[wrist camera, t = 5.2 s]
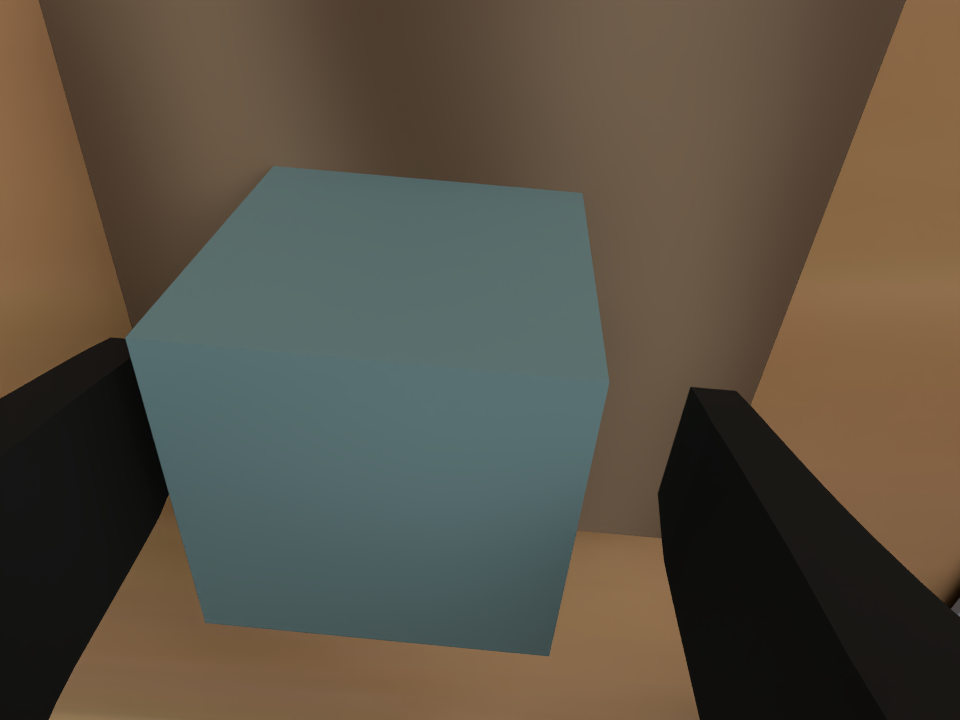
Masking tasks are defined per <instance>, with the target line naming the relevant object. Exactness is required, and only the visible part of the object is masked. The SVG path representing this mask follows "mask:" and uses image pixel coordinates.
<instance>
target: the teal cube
mask: <svg viewBox="0 0 960 720" xmlns="http://www.w3.org/2000/svg"><path fill="white" fill-rule="evenodd" d="M125 339H126V343H127V346H128V350H129V354H130V357H131V361H132V364H133V368H134V371H135V375H136V378H137V382H138V385H139V389H140V393H141V396H142V400H143V403H144V407H145V410H146V414H147V417H148V421H149V424H150V428H151V432H152V435H153V439H154V442H155V446H156V449H157V453H158V456H159V460H160V463H161V467H162V471H163V474H164V478H165V481H166V485H167V488H168V492H169V495H170V499H171V502H172V506H173V509H174V513H175V517H176V520H177V524H178V527H179V531H180V534H181V538H182V541H183V545H184V548H185V552H186V556H187V559H188V563H189V566H190V570H191V573H192V577H193V580H194V584H195V587H196V591H197V595H198V598H199V602H200V605H201V609H202V612H203V616H204V619H205V623H212V624H222V625H233V626H243V627H253V628H263V629H274V630H284V631H294V632H305V633H315V634H325V635H335V636H346V637H356V638H366V639H376V640H387V641H397V642H407V643H418V644H428V645H438V646H448V647H459V648H469V649H479V650H489V651H500V652H510V653H520V654H531V655H541V656H549V654H550V650H551V645H552V640H553V636H554V631H555V627H556V622H557V618H558V613H559V609H560V604H561V600H562V595H563V591H564V586H565V581H566V577H567V572H568V568H569V563H570V559H571V554H572V550H573V545H574V541H575V536H576V532H577V527H578V523H579V518H580V513H581V509H582V504H583V500H584V495H585V491H586V486H587V482H588V477H589V473H590V468H591V464H592V459H593V454H594V450H595V445H596V441H597V436H598V432H599V427H600V423H601V418H602V414H603V409H604V405H605V400H606V395H607V391H608V386H609V376H608V369H607V361H606V354H605V347H604V340H603V333H602V326H601V319H600V312H599V305H598V298H597V291H596V284H595V277H594V270H593V263H592V256H591V249H590V242H589V235H588V228H587V221H586V214H585V207H584V200H583V193H578V192H566V191H555V190H543V189H532V188H521V187H509V186H498V185H486V184H475V183H463V182H452V181H440V180H429V179H417V178H406V177H394V176H383V175H371V174H360V173H348V172H337V171H325V170H314V169H302V168H291V167H279V166H273V167H272V168H271V169H270V171H269V172H268V173H267V174H266V175H265V176H264V177H263V179H262V180H261V181H260V182H259V183H258V184H257V186H256V187H255V188H254V189H253V190H252V191H251V193H250V194H249V195H248V196H247V197H246V198H245V199H244V201H243V202H242V203H241V204H240V205H239V206H238V208H237V209H236V210H235V211H234V212H233V213H232V215H231V216H230V217H229V218H228V219H227V220H226V222H225V223H224V224H223V225H222V226H221V227H220V228H219V230H218V231H217V232H216V233H215V234H214V235H213V237H212V238H211V239H210V240H209V241H208V242H207V244H206V245H205V246H204V247H203V248H202V249H201V250H200V252H199V253H198V254H197V255H196V256H195V257H194V259H193V260H192V261H191V262H190V263H189V264H188V266H187V267H186V268H185V269H184V270H183V271H182V272H181V274H180V275H179V276H178V277H177V278H176V279H175V281H174V282H173V283H172V284H171V285H170V286H169V288H168V289H167V290H166V291H165V292H164V293H163V295H162V296H161V297H160V298H159V299H158V300H157V301H156V303H155V304H154V305H153V306H152V307H151V308H150V310H149V311H148V312H147V313H146V314H145V315H144V317H143V318H142V319H141V320H140V321H139V322H138V323H137V325H136V326H135V327H134V328H133V329H132V330H131V332H130V333H129V334H128V335H127V336H126V337H125Z"/></svg>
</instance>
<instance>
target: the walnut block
mask: <svg viewBox="0 0 960 720" xmlns="http://www.w3.org/2000/svg"><path fill="white" fill-rule="evenodd" d="M905 1H906V0H39V3H40V6H41V10H42V13H43V17H44V20H45V24H46V27H47V31H48V34H49V38H50V41H51V45H52V48H53V52H54V55H55V59H56V62H57V66H58V69H59V73H60V76H61V80H62V84H63V87H64V91H65V94H66V98H67V101H68V105H69V108H70V112H71V115H72V119H73V122H74V126H75V129H76V133H77V136H78V140H79V143H80V147H81V150H82V154H83V157H84V161H85V164H86V168H87V171H88V175H89V178H90V182H91V185H92V189H93V192H94V196H95V199H96V203H97V206H98V210H99V213H100V217H101V220H102V224H103V227H104V231H105V234H106V238H107V241H108V245H109V248H110V252H111V255H112V259H113V262H114V266H115V269H116V273H117V276H118V280H119V283H120V287H121V290H122V294H123V297H124V301H125V304H126V308H127V311H128V315H129V318H130V322H131V325H132V329H133V328H134V327H135V326H136V325H137V323H138V322H139V321H140V320H141V319H142V318H143V317H144V315H145V314H146V313H147V312H148V311H149V310H150V308H151V307H152V306H153V305H154V304H155V303H156V301H157V300H158V299H159V298H160V297H161V296H162V295H163V293H164V292H165V291H166V290H167V289H168V288H169V286H170V285H171V284H172V283H173V282H174V281H175V279H176V278H177V277H178V276H179V275H180V274H181V272H182V271H183V270H184V269H185V268H186V267H187V266H188V264H189V263H190V262H191V261H192V260H193V259H194V257H195V256H196V255H197V254H198V253H199V252H200V250H201V249H202V248H203V247H204V246H205V245H206V244H207V242H208V241H209V240H210V239H211V238H212V237H213V235H214V234H215V233H216V232H217V231H218V230H219V228H220V227H221V226H222V225H223V224H224V223H225V222H226V220H227V219H228V218H229V217H230V216H231V215H232V213H233V212H234V211H235V210H236V209H237V208H238V206H239V205H240V204H241V203H242V202H243V201H244V199H245V198H246V197H247V196H248V195H249V194H250V193H251V191H252V190H253V189H254V188H255V187H256V186H257V184H258V183H259V182H260V181H261V180H262V179H263V177H264V176H265V175H266V174H267V173H268V172H269V171H270V169H271V168H272V167H273V166H279V167H291V168H302V169H314V170H325V171H337V172H348V173H360V174H371V175H383V176H394V177H406V178H417V179H429V180H440V181H452V182H463V183H475V184H486V185H498V186H509V187H521V188H532V189H543V190H555V191H566V192H578V193H583V200H584V207H585V214H586V221H587V228H588V235H589V242H590V249H591V256H592V263H593V270H594V277H595V284H596V291H597V298H598V305H599V312H600V319H601V326H602V333H603V340H604V347H605V354H606V361H607V369H608V376H609V386H608V391H607V395H606V400H605V405H604V409H603V414H602V418H601V423H600V427H599V432H598V436H597V441H596V445H595V450H594V454H593V459H592V464H591V468H590V473H589V477H588V482H587V486H586V491H585V495H584V500H583V504H582V509H581V513H580V518H579V523H578V527H577V530H578V531H589V532H600V533H611V534H622V535H633V536H644V537H655V538H662V537H661V527H660V515H659V503H658V491H659V487H660V484H661V481H662V478H663V474H664V471H665V468H666V465H667V461H668V458H669V455H670V452H671V448H672V445H673V442H674V439H675V435H676V432H677V429H678V425H679V422H680V419H681V416H682V412H683V409H684V406H685V403H686V399H687V396H688V393H689V390H690V387H698V388H710V389H722V390H734V391H737V392H738V393H739V394H740V395H741V396H742V397H743V398H744V399H745V400H746V401H747V402H748V404H749V405H751V402H752V400H753V397H754V395H755V392H756V389H757V387H758V384H759V382H760V379H761V376H762V374H763V371H764V369H765V366H766V363H767V361H768V358H769V356H770V353H771V350H772V348H773V345H774V342H775V340H776V337H777V335H778V332H779V329H780V327H781V324H782V322H783V319H784V316H785V314H786V311H787V309H788V306H789V303H790V301H791V298H792V296H793V293H794V290H795V288H796V285H797V283H798V280H799V277H800V275H801V272H802V270H803V267H804V264H805V262H806V259H807V257H808V254H809V251H810V249H811V246H812V244H813V241H814V238H815V236H816V233H817V230H818V228H819V225H820V223H821V220H822V217H823V215H824V212H825V210H826V207H827V204H828V202H829V199H830V197H831V194H832V191H833V189H834V186H835V184H836V181H837V178H838V176H839V173H840V171H841V168H842V165H843V163H844V160H845V158H846V155H847V152H848V150H849V147H850V145H851V142H852V139H853V137H854V134H855V132H856V129H857V126H858V124H859V121H860V118H861V116H862V113H863V111H864V108H865V105H866V103H867V100H868V98H869V95H870V92H871V90H872V87H873V85H874V82H875V79H876V77H877V74H878V72H879V69H880V66H881V64H882V61H883V59H884V56H885V53H886V51H887V48H888V46H889V43H890V40H891V38H892V35H893V33H894V30H895V27H896V25H897V22H898V20H899V17H900V14H901V12H902V9H903V6H904V4H905Z"/></svg>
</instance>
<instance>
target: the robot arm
mask: <svg viewBox="0 0 960 720" xmlns="http://www.w3.org/2000/svg"><path fill="white" fill-rule="evenodd" d="M168 495H169V492H168V488H167V485H166V481H165V478H164V474H163V471H162V467H161V463H160V460H159V456H158V453H157V449H156V446H155V442H154V439H153V435H152V432H151V428H150V424H149V421H148V417H147V414H146V410H145V407H144V403H143V400H142V396H141V393H140V389H139V385H138V382H137V378H136V375H135V371H134V368H133V364H132V361H131V357H130V354H129V350H128V346H127V343H126V339H121V338H109V339H107V340H105V341H103V342H101V343H99V344H97V345H95V346H93V347H91V348H89V349H87V350H85V351H83V352H82V353H80V354H78V355H76V356H74V357H72V358H71V359H69V360H67V361H65V362H63V363H62V364H60V365H58V366H56V367H55V368H53V369H51V370H49V371H48V372H46V373H44V374H42V375H41V376H39V377H37V378H35V379H34V380H32V381H30V382H29V383H27V384H25V385H23V386H22V387H20V388H18V389H16V390H15V391H13V392H11V393H9V394H8V395H6V396H4V397H2V398H1V399H0V720H49V718H50V715H51V713H52V711H53V709H54V706H55V704H56V702H57V700H58V698H59V696H60V694H61V692H62V690H63V688H64V687H65V685H66V683H67V681H68V679H69V677H70V675H71V673H72V671H73V669H74V667H75V665H76V664H77V662H78V660H79V658H80V657H81V655H82V653H83V651H84V650H85V648H86V646H87V644H88V643H89V641H90V639H91V637H92V636H93V634H94V632H95V630H96V629H97V627H98V625H99V623H100V621H101V620H102V618H103V616H104V614H105V613H106V611H107V609H108V607H109V606H110V604H111V602H112V600H113V599H114V597H115V595H116V593H117V592H118V590H119V588H120V586H121V585H122V583H123V581H124V579H125V578H126V576H127V574H128V572H129V571H130V569H131V567H132V565H133V564H134V562H135V560H136V558H137V556H138V555H139V553H140V551H141V549H142V547H143V546H144V544H145V542H146V540H147V538H148V537H149V535H150V533H151V531H152V529H153V527H154V526H155V524H156V522H157V520H158V518H159V516H160V514H161V511H162V509H163V507H164V504H165V502H166V499H167V497H168ZM658 503H659V515H660V527H661V537H662V546H663V555H664V563H665V568H666V572H667V577H668V582H669V586H670V591H671V595H672V600H673V604H674V609H675V613H676V618H677V622H678V626H679V631H680V635H681V639H682V644H683V648H684V653H685V657H686V661H687V666H688V670H689V674H690V679H691V683H692V687H693V692H694V696H695V701H696V705H697V709H698V714H699V718H700V720H960V598H959V599H958V601H957V602H956V603H955V604H954V606H953V607H952V608H951V609H950V608H949V607H948V606H947V605H946V604H945V603H943V602H942V601H941V600H940V599H939V598H938V597H937V596H936V595H934V594H933V593H932V592H931V591H930V590H929V589H928V588H927V587H926V586H924V585H923V584H922V583H921V582H920V581H919V580H918V579H917V578H916V577H915V576H914V575H913V574H912V573H911V572H910V571H909V570H907V569H906V568H905V567H904V566H903V565H902V564H901V563H900V562H899V561H898V560H897V559H896V558H895V557H894V556H893V555H892V554H891V553H890V552H889V551H888V550H886V549H885V548H884V547H883V546H882V545H881V544H880V543H879V542H878V541H877V540H876V539H875V538H874V537H873V536H872V535H871V534H870V533H869V532H868V531H867V530H866V529H865V528H864V527H863V526H862V525H861V524H860V523H859V522H858V521H857V520H856V519H855V518H854V517H853V516H852V515H851V514H850V513H849V512H848V511H847V510H846V509H845V508H844V507H843V506H842V505H841V504H840V503H839V502H838V501H837V500H836V498H835V497H834V496H833V495H832V494H831V493H830V492H829V491H828V490H827V489H826V488H825V487H824V486H823V485H822V484H821V483H820V482H819V480H818V479H817V478H816V477H815V476H814V475H813V474H812V473H811V472H810V471H809V470H808V469H807V468H806V466H805V465H804V464H803V463H802V462H801V461H800V460H799V459H798V458H797V457H796V455H795V454H794V453H793V452H792V451H791V450H790V449H789V448H788V447H787V446H786V444H785V443H784V442H783V441H782V440H781V439H780V438H779V437H778V436H777V434H776V433H775V432H774V431H773V430H772V429H771V428H770V427H769V426H768V424H767V423H766V422H765V421H764V420H763V419H762V418H761V417H760V416H759V414H758V413H757V412H756V411H755V410H754V409H753V408H752V407H751V406H750V405H749V404H748V402H747V401H746V400H745V399H744V398H743V397H742V396H741V395H740V394H739V393H738V392H737V391H734V390H722V389H710V388H698V387H690V390H689V393H688V396H687V399H686V403H685V406H684V409H683V412H682V416H681V419H680V422H679V425H678V429H677V432H676V435H675V439H674V442H673V445H672V448H671V452H670V455H669V458H668V461H667V465H666V468H665V471H664V474H663V478H662V481H661V484H660V487H659V491H658Z"/></svg>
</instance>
